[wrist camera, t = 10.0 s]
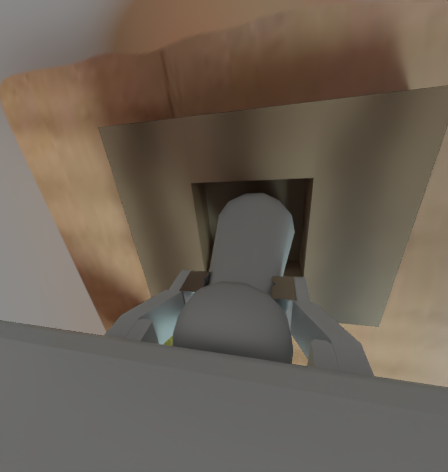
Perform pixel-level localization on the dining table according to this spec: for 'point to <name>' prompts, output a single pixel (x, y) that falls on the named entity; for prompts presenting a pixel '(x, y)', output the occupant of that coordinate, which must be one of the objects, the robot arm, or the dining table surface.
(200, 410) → the robot arm
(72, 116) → the dining table surface
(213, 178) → the walnut holder
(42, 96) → the dining table surface
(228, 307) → the salt shaker
